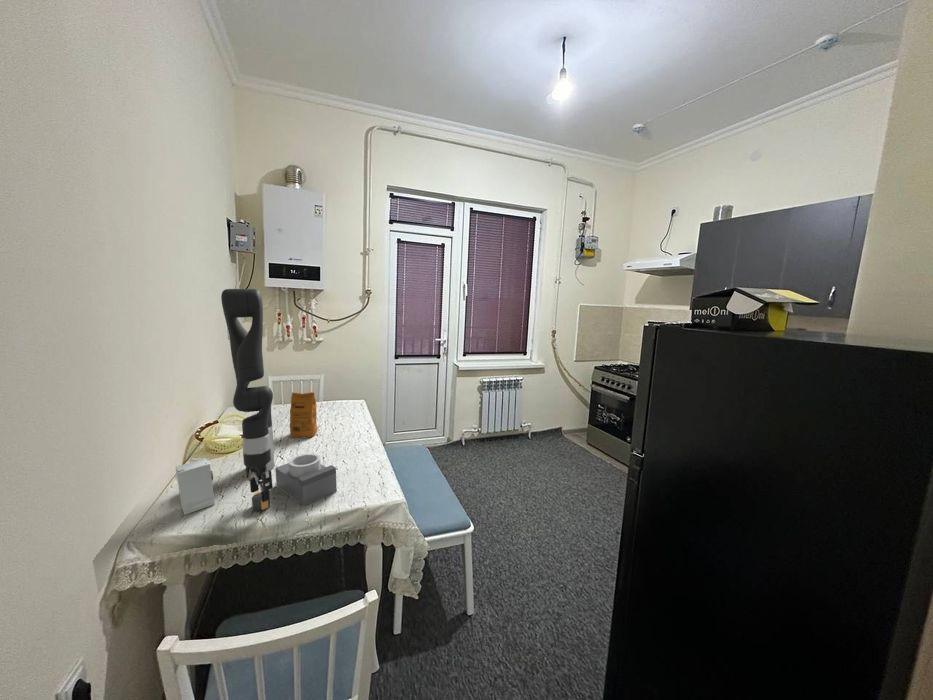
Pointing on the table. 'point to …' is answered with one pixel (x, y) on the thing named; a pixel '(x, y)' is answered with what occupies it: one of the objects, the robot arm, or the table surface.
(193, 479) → the skincare box
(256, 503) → the grey dome
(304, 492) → the camera body
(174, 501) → the table surface
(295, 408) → the coffee package
